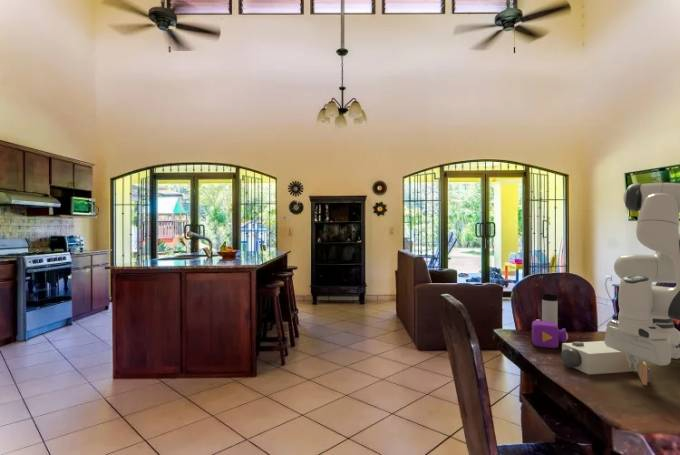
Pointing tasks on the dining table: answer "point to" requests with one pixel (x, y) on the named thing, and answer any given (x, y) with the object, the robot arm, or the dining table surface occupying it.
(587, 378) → the dining table surface
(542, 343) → the toy camera
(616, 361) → the white projector
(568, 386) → the dining table surface
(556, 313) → the travel mug
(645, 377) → the side door
